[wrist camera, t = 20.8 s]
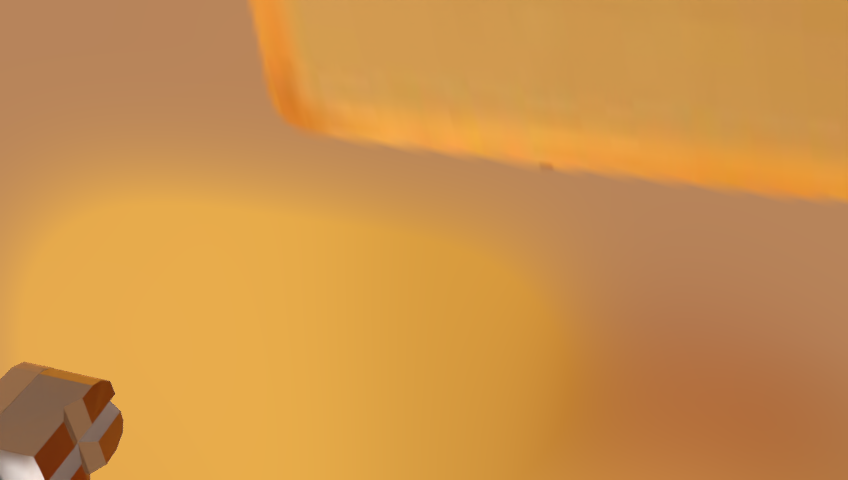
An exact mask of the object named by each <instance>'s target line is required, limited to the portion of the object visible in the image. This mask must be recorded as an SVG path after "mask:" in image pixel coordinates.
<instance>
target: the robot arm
mask: <svg viewBox="0 0 848 480" xmlns="http://www.w3.org/2000/svg"><path fill="white" fill-rule="evenodd" d="M114 395H115V392H114V390H113V387H112V385H111V382H110V381H107V380H103V379H98V378H94V377H89V376H84V375H80V374H76V373H72V372H67V371H62V370H58V369H54V368H51V367H46V366H41V365H36V364H32V363H27V362H23V363H20V364H19V365H16V366H14V367H12V368H11V369H10V370H9V371H8V372H7V373H6V374H5V375H4V376H3V377H2V378H1V379H0V480H90V474H91V473H92V472H94V471H96V470H98V469H99V468H101V467H103V466H104V465H106V464H107V463H108V461H109V460H110V458H111V457H112V455H113V454H114V452H115V451H116V449H117V447H118V444H119V441H120V438H121V436H122V433H123V418H122V415H121V411H120V410H119V409H118V408H117V407H115V405H114V404H112V403H111V401H110V400H111V399H112V397H113V396H114Z"/></svg>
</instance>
